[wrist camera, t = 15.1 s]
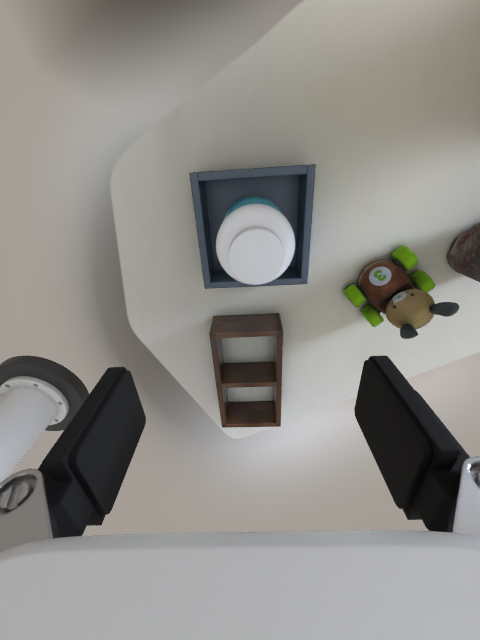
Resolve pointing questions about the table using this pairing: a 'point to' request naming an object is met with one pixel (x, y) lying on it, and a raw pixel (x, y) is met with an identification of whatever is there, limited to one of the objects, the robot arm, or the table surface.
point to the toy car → (398, 294)
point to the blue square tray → (230, 185)
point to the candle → (467, 253)
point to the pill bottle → (255, 241)
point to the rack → (248, 370)
